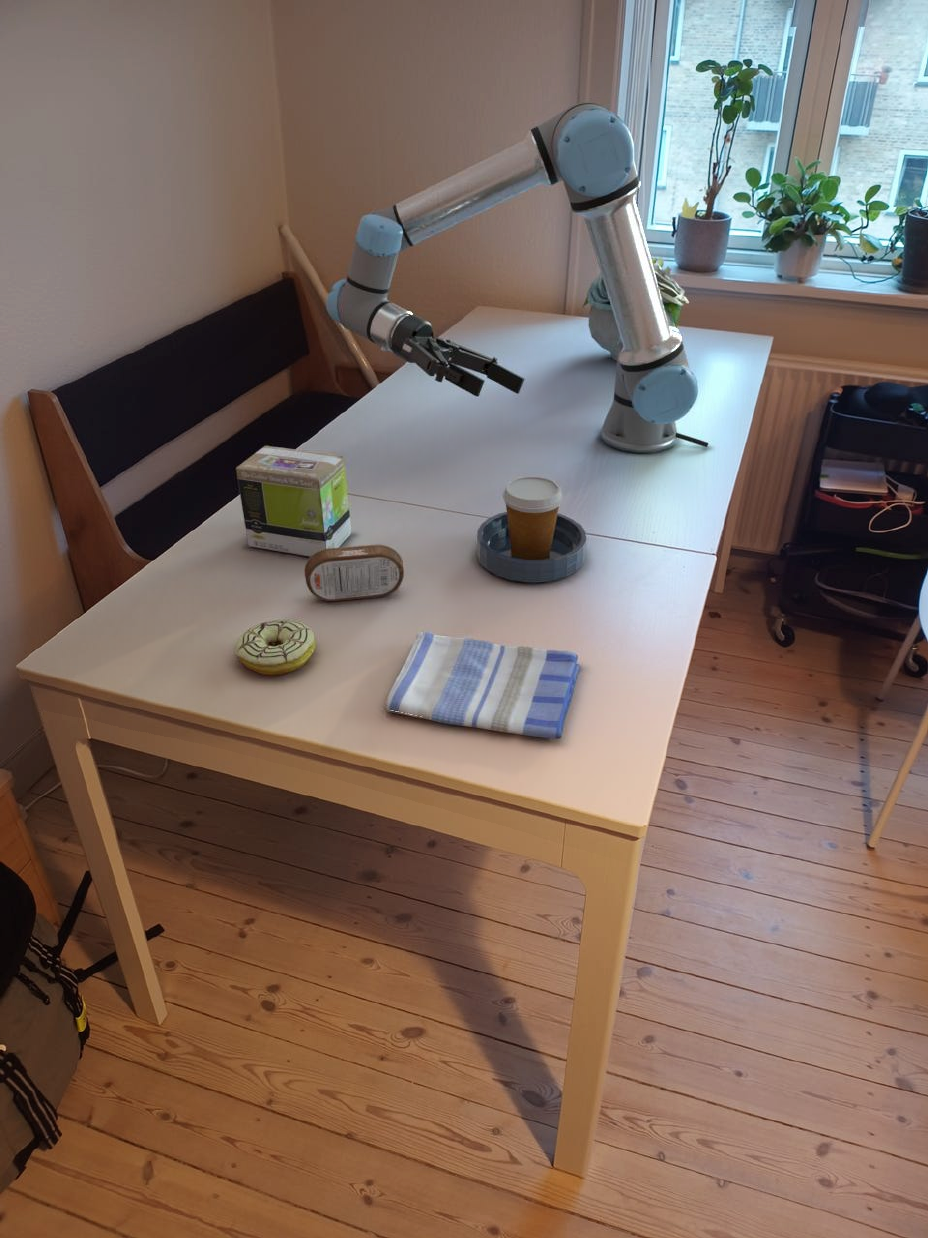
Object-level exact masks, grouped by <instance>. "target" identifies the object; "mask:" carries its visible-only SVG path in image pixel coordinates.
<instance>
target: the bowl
mask: <svg viewBox="0 0 928 1238" xmlns="http://www.w3.org/2000/svg"><path fill="white" fill-rule="evenodd" d="M586 548H587V533H586V531H585V529H584V527H583V526H582V525H581V524H580V523H579V522H577V521H576V520H574V519H573V518H571V517H568V516H566V515H564V514H561V513H558V514H557V519H556V524H555V530H554V535H553V540H552V545H551V550H550V555H549V557H548V558H547V559H545V560H523V559H517V558H513V556H512V554H511V545H510V536H509V527H508V518H507V511H505V512H500V513H497V514H495V515H493V516H491V517H489V518H487V519H486V520H484V521H483V523H481V524H480V525H479V527H478V529H477V534H476V557H477V559H478V561H479V563H480V565H481V566H482V567H484V569H486V570H487V571H488V572H490V573H492V574H494V575H495V576H497V577H500V578H504V579H507V580H510V581H517V582H522V583H543V582H552V581H556V580H560V579H563V578H566V577H568V576H570V575H571V574H573V573H576V572H577V571H578V570H579V569H580V568H581V567H582V566H583V564H584V561H585V559H586Z"/></svg>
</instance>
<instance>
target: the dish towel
mask: <svg viewBox="0 0 928 1238" xmlns="http://www.w3.org/2000/svg"><path fill="white" fill-rule="evenodd" d="M578 658H579V656H578V654H577V653H575V652H573V651H568V650H559V649H543V648H535V647H529V646H506V645H502V644H501V645H500V644H496V643H494V642H491V641H485V640H479V639H474V638H467V637H464V638H461V637H453V636H445V635H439V634H434V633H433V632H430V631H428V630H426V631H421V632H417V633H416V638H415V641H414V643H413V645H412V647H411V648H410V650H409V653H408V654H407V657H406V659H405V661H404V663H403V666H402V668H401V669H400V671H399V673H398V675H397V677H396V679H395V680H394V682H393V685H392V687H391V689H390V691H389V693H388V696H387V698H386V701H385V709H386V708H387V709H386V711H387V712H388V713H393V714H398V715H399V714H401V715H404V716H408V717H414V718H417V719H418V718H419V719H423V720H429V721H433V722H436V723H442V724H448V725H453V726H462V727H469V728H478V729H482V730H483V729H484V730H488V731H489V730H490V731H492V732H500V733H507V734H514V735H521V736H527V737H536V738H543V739H552V740H553V739H554V740H555V739H556V740H558V739H561V738H562V734H563V730H564V725H565V724H564V723H565V720H566V717H567V713H568V710H569V707H570V704H571V701H572V698H573V695H574V691H575V690H574V689H575V686H576V682H577V677H578V675H579V671H580V668H581V664H580V663H578ZM390 710H394V711H390ZM395 711H399V712H395ZM401 712H403V713H401ZM405 713H407V714H405ZM408 713H409V714H413V715H409V714H408ZM415 715H417V716H415ZM420 716H422V717H420ZM430 718H431V719H430Z"/></svg>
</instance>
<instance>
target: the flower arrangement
mask: <svg viewBox="0 0 928 1238" xmlns="http://www.w3.org/2000/svg"><path fill="white" fill-rule="evenodd" d="M651 262H652V265H653V269H654V273H655V276H656V280H657V284H658V287H659V291H660V295H661V298H662V302H663V306H664V309H665V313H666V316H667V320H668V324H669V326H672V327H675V328H677V329H678V323H679V320H680V315H681V309H682V307H683V306H684V304H685V303H686V304H689V303H690V302H689V300H688V299H687V296H685V293H686V292H685V290H684V289H683V288H681V287H680V286H679V284H678V283H677V281H676V280H675V279H673V278H672V277H671V271H673V270H672V268H671V267H670V266H667V267H665V268H664V269H663V267H664V264H665V263H664V262H665V261H664V259H663V258H662V257H659V258H657V257H653V258H651ZM684 301H685V303H684ZM588 304H589V305H590V308H589V311H588V328H589V332H590V336H591V338H592V339H593V340H594V341H595V342H596V343H597V344H598V346H599V347H600V348H602V349H603V350H605V351H608V352H609V353H610V357H611V358H612V359H613V360H614V361H616V362H617V354H618V341H619V336H620V333H619V330H618V326H617V323H616V320H615V317H614V313H613V310H612V307H611V303H610V300H609V297H608V294H607V290H606V287H605V284H604V280H603V277H602V274H601V271H599V273H598V275H597V276H596V277H595V278H594V279H592V281H591V283H590V286H589V287H588V290H587V292H586V298H585V300H584V302H583V305H582V306H581V308H584V307H585V306H587V305H588Z"/></svg>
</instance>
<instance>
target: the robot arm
mask: <svg viewBox="0 0 928 1238" xmlns="http://www.w3.org/2000/svg"><path fill="white" fill-rule="evenodd" d="M635 162H636V161H635V144H634V138H633V136H632V134H631V131H630V129H629V127H628V126H627V124H626V123H625V121H624V120H623V119H622V118H621V117H620V116H618V115H617V114H615V113H614V112H613V111H610V110H609V109H608V108H607V107H605V106H603V105H602V104H599V103H597V102H590V101H586V102H585V101H584V102H579V103H577V104H573V105H571V106H569V107H567V108H566V109H564V110H562V111H560V112H559V113H557V114H556V115H555V116H552V117H551V118H550V119H548V120H545V121H544V122H542V123H541V124H538V125H537V126H535V127H532V128H531V129H529V130H528V131H527V134H526V136H525V138H524V140H521V141H519V142H517V143H515V144H513V145H511V146H509V147H507V148H505V149H503V150H501V151H499V152H497V153H495V154H494V155H491V156H490V157H489V156H488V157H487V158H485V159H483V160H480V161H479V162H477V163H475V164H474V165H471V166H469V167H467V168H465V169H464V170H461V171H460V172H458V173H455V174H454V175H452V176H449V177H447V178H445V179H444V180H441V181H439V182H437V183H436V184H434V185H431V186H429V187H427V188H425V189H423V190H421V191H420V192H417V193H415V194H413V195H411V196H409V197H407V198H406V199H403V200H402V201H399V202H397V203H396V204H394V205H392V206H389V207H387V208H385V209H383V210H376V211H375V210H374V211H372V212H370V213H369V214H365V215H363V216H361V218H360V221H359V224H358V228H357V229H356V233H355V239H354V245H353V248H352V254H351V259H350V264H349V268H348V274H347V275H346V278H344V279H343V278H342V279H340V280H338V281H337V282H335V283H334V284H333V286H331V291H330V292H329V293H328V294H327V297H326V305H325V307H326V311H327V313H328V316H329V317H330V318H331V319H332V320H333V321H335V322H337V323H338V324H339V325H341V326H342V327H343V328H344V329H346V330H348V331H351V332H352V333H355V334H357V335H359V336H360V337H362V338H364V339H366V340H368V341H370V342H372V343H373V344H375V345H377V346H379V347H381V348H380V351H381V352H387V351H388V352H389V353H392V354H394V355H395V356H396V357H398V358H400V359H402V360H403V361H405V362H407V363H410V364H415V365H417V366H418V367H419V368H420V369H421V370H422V371H424V372H425V374H427V375H428V376H429V377H435V378H434V381H436V382H438V383H443V380H445V381H447V382H449V383H451V384H453V385H455V386H457V387H458V388H459V389H462V390H463V391H465V392H467V393H469V394H471V395H473V396H474V397H480V395H481V391H482V389H483V386H484V383H485V379H483V378H481V377H479V376H477V375H475V374H473V373H471V372H470V371H473V372H476V373H478V374H481V375H485V376H486V378H487V379H488V380H490V381H492V382H494V383H496V384H498V385H499V386H502V387H503V388H505V389H508V390H510V391H511V392H512V393H515V394H517V395H518V394H520V392H521V389H522V387H523V384H524V381H525V378H524V377H522V376H520V375H519V374H516V373H515V372H513V371H511V370H510V369H507V368H506V367H503V366H502V365H500V364H498V362H499V361H498V358H497V357H496V356H493V357H490V356H487V355H484V354H482V353H480V352H477V351H475V350H472V349H470V348H468V347H465V346H463V345H460V344H458V343H456V342H454V341H452V340H451V339H444V338H441V337H438V336H437V337H436V338H435V336H434V328H433V325H432V324H431V322H429V321H427V320H426V319H424V318H422V317H420V316H419V315H416V314H413V313H412V311H409V310H407V309H405V308H404V307H401V306H400V305H397V304H396V303H394V302H392V301H391V300H388V295H389V293H390V289H391V287H390V286H391V284H392V279H393V277H394V273H395V269H396V264H397V261H398V257H399V253H401V252H403V251H406V250H408V249H409V248H411V247H414V246H415V245H417V244H419V243H422V242H423V241H425V240H427V239H430V238H431V237H434V236H435V235H438V234H440V233H441V232H444V231H446V230H448V229H450V228H452V227H454V226H456V225H459V224H460V223H462V222H464V221H467V220H469V219H470V218H472V217H475V216H477V215H479V214H481V213H483V212H485V211H487V210H490V209H492V208H493V207H496V206H498V205H500V204H502V203H504V202H506V201H508V200H511V199H512V198H514V197H516V196H518V195H521V194H522V193H525V192H527V191H529V190H531V189H532V188H535V187H537V186H539V185H545V186H547V187H551V186H553V185H555V184H558V183H559V182H562V183H563V185H564V188H565V191H566V195H567V198H568V202H569V204H570V207H571V210H572V212H573V213H575V214H577V215H579V216H581V217H582V218H584V221H585V224H586V228H587V231H588V234H589V238H590V241H591V244H592V247H593V251H594V254H595V257H596V260H597V261H596V262H597V264H598V268H599V270H600V271H601V274H602V277H603V280H604V284H605V287H606V290H607V294H608V297H609V300H610V303H611V307H612V310H613V313H614V317H615V320H616V323H617V326H618V330H619V333H620V336H619V341H618V354H617V361H616V368H615V380H614V391H613V399H612V402H611V405H610V408H609V410H608V413H607V414H606V417H605V419H604V422H603V424H602V427H601V435H600V436H601V439H602V441H603V442H604V443H605V444H606V445H607V446H609V447H611V448H614V449H617V450H619V451H622V452H623V451H624V452H628V453H635V454H636V453H637V454H652V453H658V452H663V451H666V450H669V449H670V448H672V447H674V446H675V444H676V442H677V439H679V440H683V441H686V442H689V443H692V444H696V445H697V446H701V447H705V448H708V446H709V442H707V441H704V440H702V439H698V438H695V437H692V436H689V435H686V434H682V433H679V432H678V430H677V429H678V428H677V424H676V422H677V421H679V420H681V419H682V418H683V417H685V416H686V415H687V414H688V413H689V412H690V411H691V409H692V408H693V407H694V405H695V404H696V401H697V398H698V394H699V387H698V379H697V377H696V375H695V374H694V373H693V371H692V370H691V368H690V364H689V359H688V357H687V353H686V349H685V346H684V342H683V338H682V336H681V332H680V330H679V329H678V327H677V328H675V327H672V326H669V324H668V320H667V316H666V313H665V309H664V306H663V302H662V298H661V295H660V291H659V287H658V284H657V280H656V276H655V273H654V269H653V265H652V262H651V259H652V258H651V254H650V251H649V247H648V243H647V241H646V236H645V233H644V229H643V226H642V222H641V218H640V214H639V210H638V207H637V204H636V200H635V197H636V195H637V192H638V191H639V188H640V186H641V181H640V178H639V174H638V170H637V166H636V163H635ZM600 271H599V272H600ZM466 369H467V370H466ZM435 375H436V376H435Z"/></svg>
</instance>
